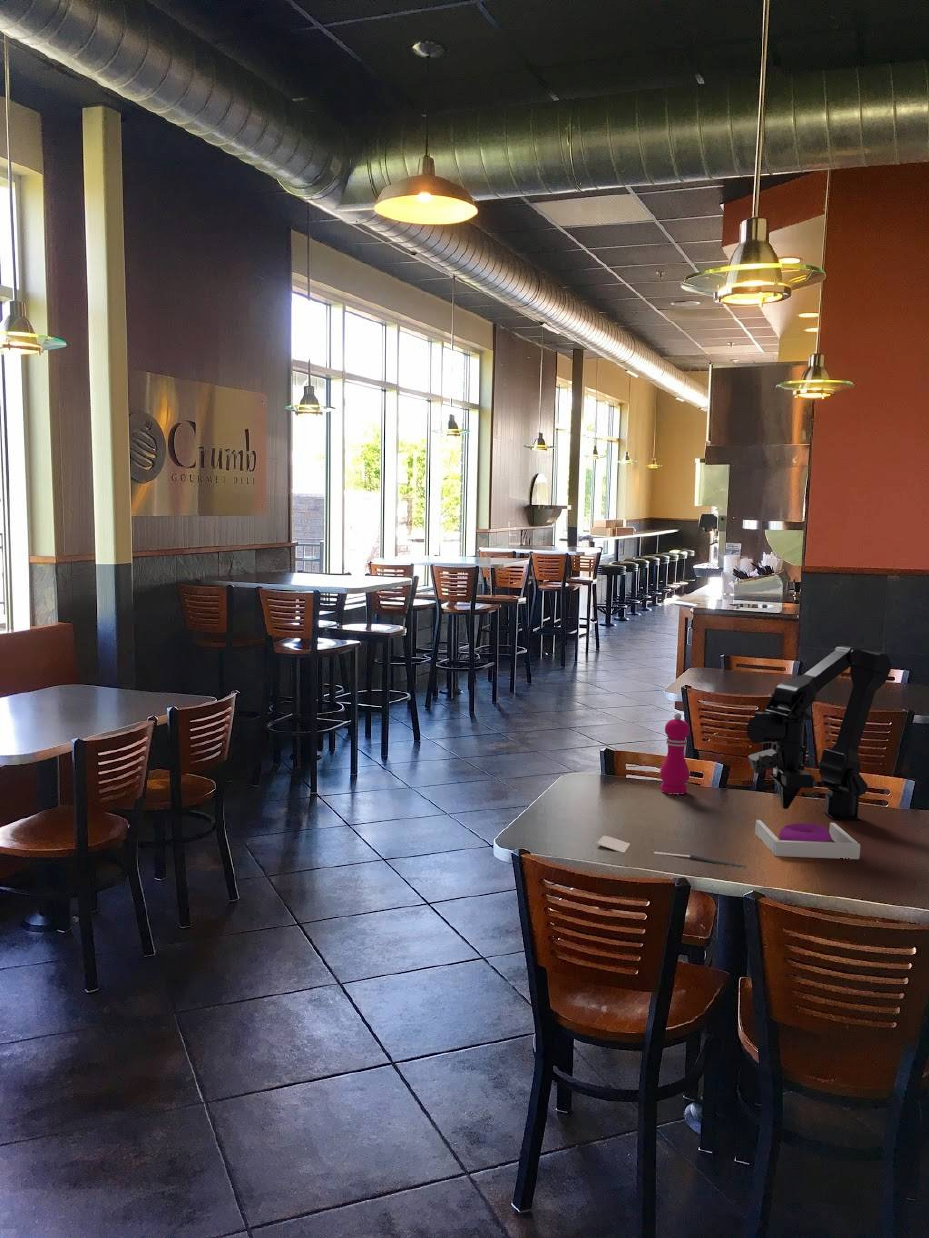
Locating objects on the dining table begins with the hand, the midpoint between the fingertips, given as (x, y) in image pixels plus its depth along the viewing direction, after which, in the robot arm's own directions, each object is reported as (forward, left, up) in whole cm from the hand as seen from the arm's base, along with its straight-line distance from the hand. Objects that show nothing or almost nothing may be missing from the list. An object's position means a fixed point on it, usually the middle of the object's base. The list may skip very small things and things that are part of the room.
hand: (785, 808), depth 217 cm
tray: (0, +14, -4) cm, 15 cm away
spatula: (+30, +23, -5) cm, 38 cm away
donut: (0, +15, -4) cm, 15 cm away
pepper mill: (+20, -24, -4) cm, 32 cm away
